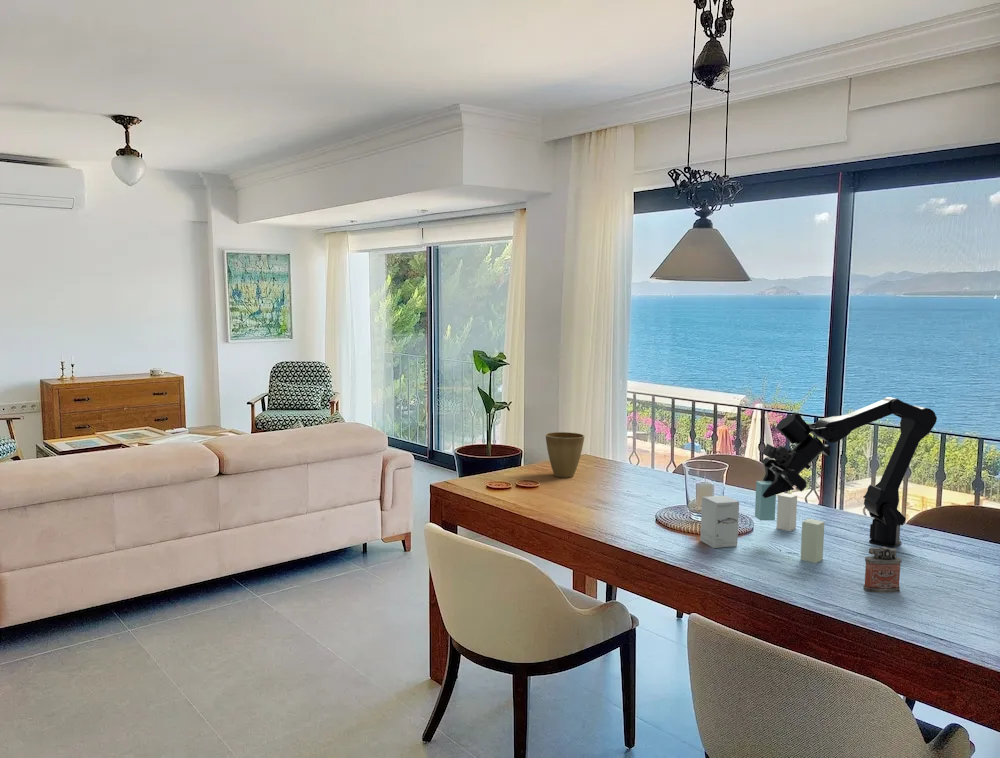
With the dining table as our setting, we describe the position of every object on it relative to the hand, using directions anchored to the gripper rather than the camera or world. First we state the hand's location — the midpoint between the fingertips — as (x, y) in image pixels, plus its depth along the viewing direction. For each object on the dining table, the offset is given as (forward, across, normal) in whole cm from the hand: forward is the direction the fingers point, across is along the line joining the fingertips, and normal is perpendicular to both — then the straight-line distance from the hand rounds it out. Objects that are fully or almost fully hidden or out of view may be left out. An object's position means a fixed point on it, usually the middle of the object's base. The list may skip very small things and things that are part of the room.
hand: (760, 494), depth 202 cm
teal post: (+4, 0, +6) cm, 7 cm away
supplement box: (+18, +1, +2) cm, 18 cm away
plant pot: (+42, -82, -22) cm, 95 cm away
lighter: (-1, +34, +21) cm, 40 cm away
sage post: (+4, +14, +16) cm, 21 cm away
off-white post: (0, -14, +19) cm, 23 cm away
